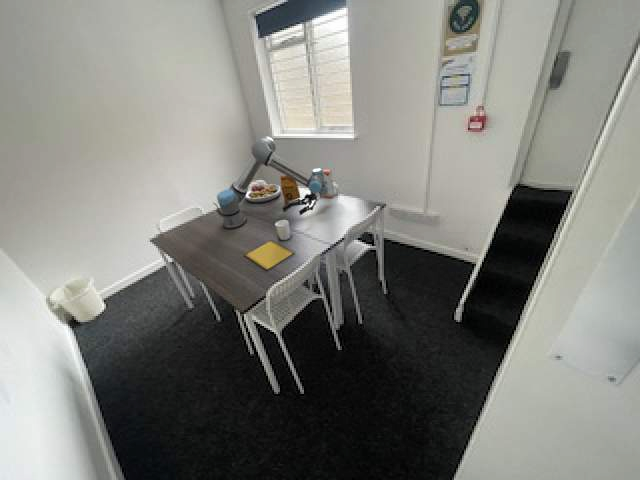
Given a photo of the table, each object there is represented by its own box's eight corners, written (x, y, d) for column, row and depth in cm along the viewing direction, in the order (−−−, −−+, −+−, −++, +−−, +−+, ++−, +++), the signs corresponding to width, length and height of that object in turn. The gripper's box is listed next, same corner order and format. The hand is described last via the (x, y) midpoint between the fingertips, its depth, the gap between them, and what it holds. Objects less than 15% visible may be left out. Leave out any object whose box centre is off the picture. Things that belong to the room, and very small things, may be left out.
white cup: (286, 241, 155) (282, 227, 150) (276, 239, 159) (272, 225, 154) (294, 235, 160) (290, 220, 155) (284, 232, 164) (280, 219, 159)
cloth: (245, 255, 148) (245, 255, 148) (270, 241, 158) (270, 240, 158) (266, 270, 134) (266, 269, 134) (293, 253, 144) (293, 252, 143)
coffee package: (297, 205, 197) (292, 177, 185) (283, 205, 201) (277, 178, 190) (303, 200, 204) (298, 173, 193) (288, 200, 209) (283, 173, 197)
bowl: (288, 193, 222) (286, 184, 217) (260, 206, 205) (257, 197, 201) (267, 187, 241) (265, 179, 236) (240, 199, 224) (237, 191, 220)
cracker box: (315, 197, 205) (311, 171, 194) (318, 194, 210) (314, 169, 199) (331, 198, 200) (328, 171, 189) (334, 195, 205) (331, 169, 193)
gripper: (328, 205, 168) (308, 220, 154) (298, 200, 182) (278, 213, 168) (326, 194, 164) (306, 208, 150) (296, 190, 178) (275, 203, 164)
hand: (291, 211), depth 159 cm, fingers open, 13 cm apart
